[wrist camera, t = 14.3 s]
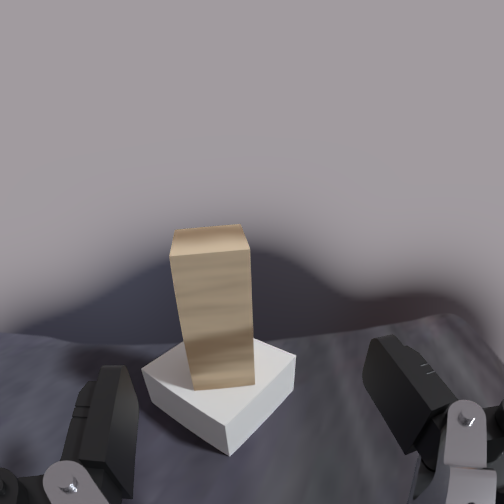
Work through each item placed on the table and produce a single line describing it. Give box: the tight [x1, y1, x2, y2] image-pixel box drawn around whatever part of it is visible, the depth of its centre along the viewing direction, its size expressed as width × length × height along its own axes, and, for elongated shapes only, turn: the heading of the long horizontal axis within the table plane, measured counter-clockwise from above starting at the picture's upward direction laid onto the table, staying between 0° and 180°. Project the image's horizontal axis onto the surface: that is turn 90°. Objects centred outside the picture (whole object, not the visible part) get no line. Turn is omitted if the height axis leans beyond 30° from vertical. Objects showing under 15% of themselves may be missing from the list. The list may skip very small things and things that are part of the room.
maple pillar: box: [169, 224, 255, 391], centre depth 24 cm, size 5×5×12 cm
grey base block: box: [141, 338, 296, 456], centre depth 28 cm, size 10×10×5 cm
